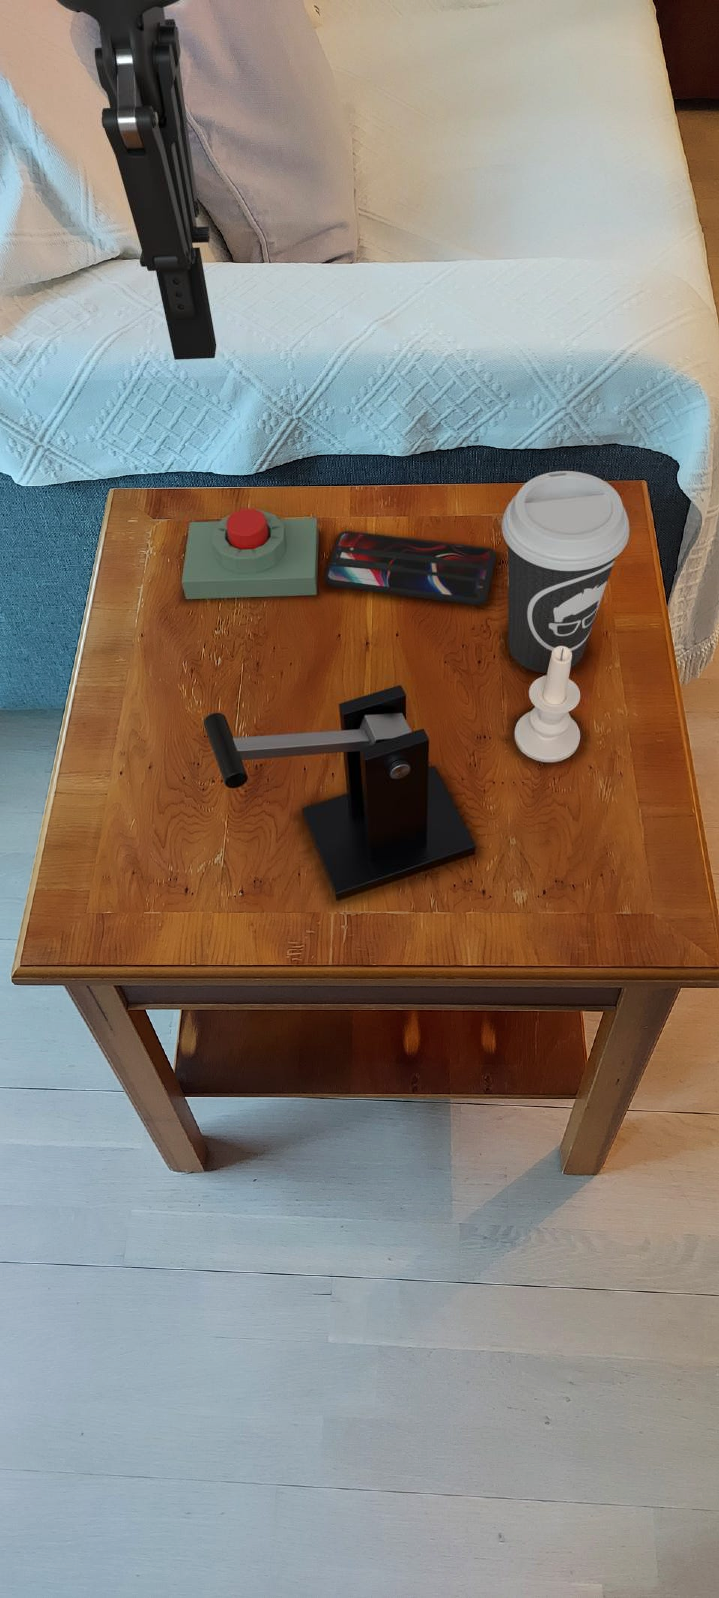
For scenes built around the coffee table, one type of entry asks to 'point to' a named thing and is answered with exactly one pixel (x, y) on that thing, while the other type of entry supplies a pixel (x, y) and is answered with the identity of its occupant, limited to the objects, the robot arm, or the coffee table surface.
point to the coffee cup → (559, 562)
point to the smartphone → (411, 567)
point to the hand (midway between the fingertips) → (195, 352)
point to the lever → (294, 742)
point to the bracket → (385, 809)
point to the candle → (551, 713)
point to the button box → (252, 561)
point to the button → (247, 529)
